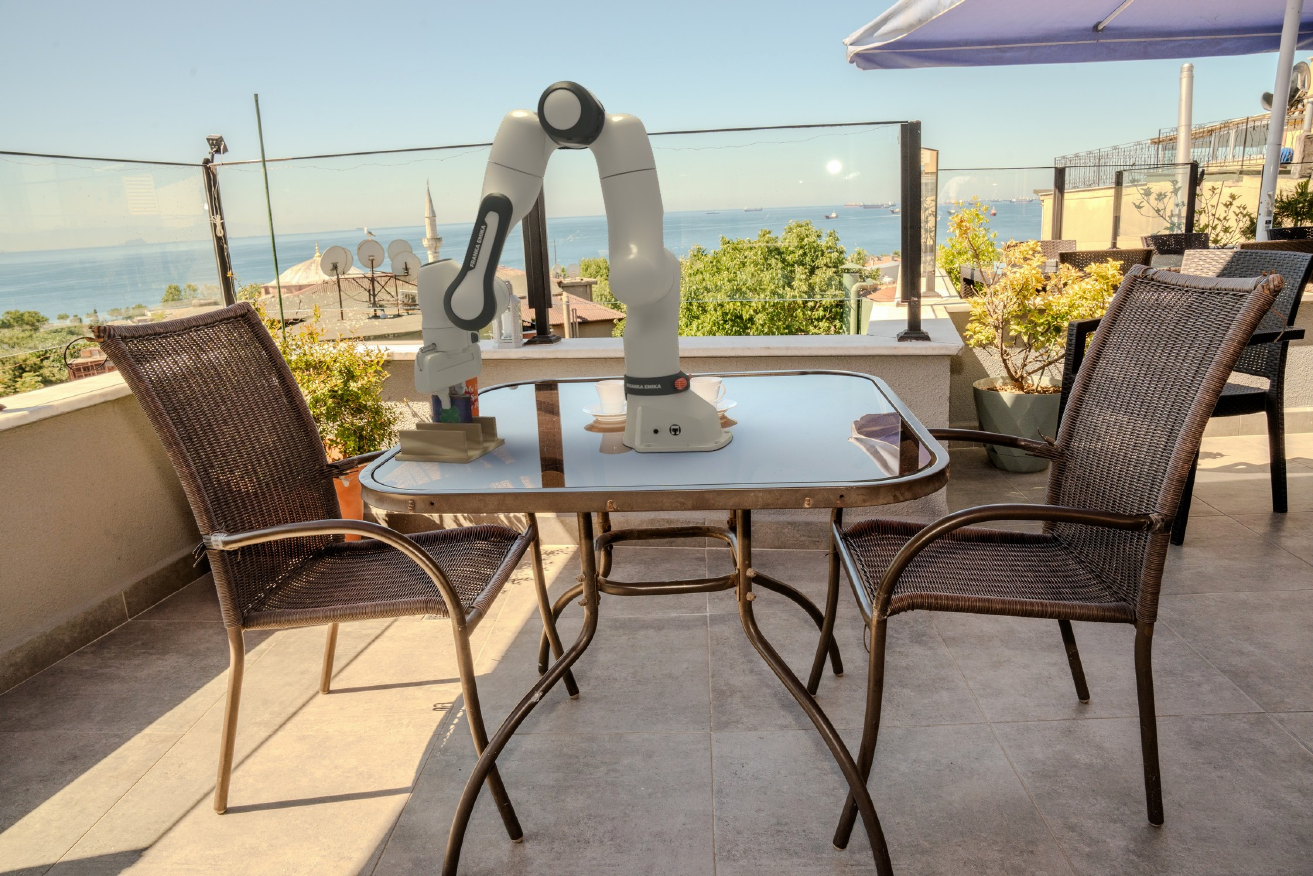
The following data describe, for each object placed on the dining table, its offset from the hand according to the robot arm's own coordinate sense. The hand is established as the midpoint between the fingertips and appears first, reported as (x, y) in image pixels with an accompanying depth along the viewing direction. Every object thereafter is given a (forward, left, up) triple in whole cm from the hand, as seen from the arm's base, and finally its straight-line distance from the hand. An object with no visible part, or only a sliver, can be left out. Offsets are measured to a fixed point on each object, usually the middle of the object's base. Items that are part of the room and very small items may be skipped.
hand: (453, 405), depth 181 cm
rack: (0, +3, -9) cm, 9 cm away
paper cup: (+10, -20, -9) cm, 24 cm away
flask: (0, 0, -7) cm, 7 cm away
